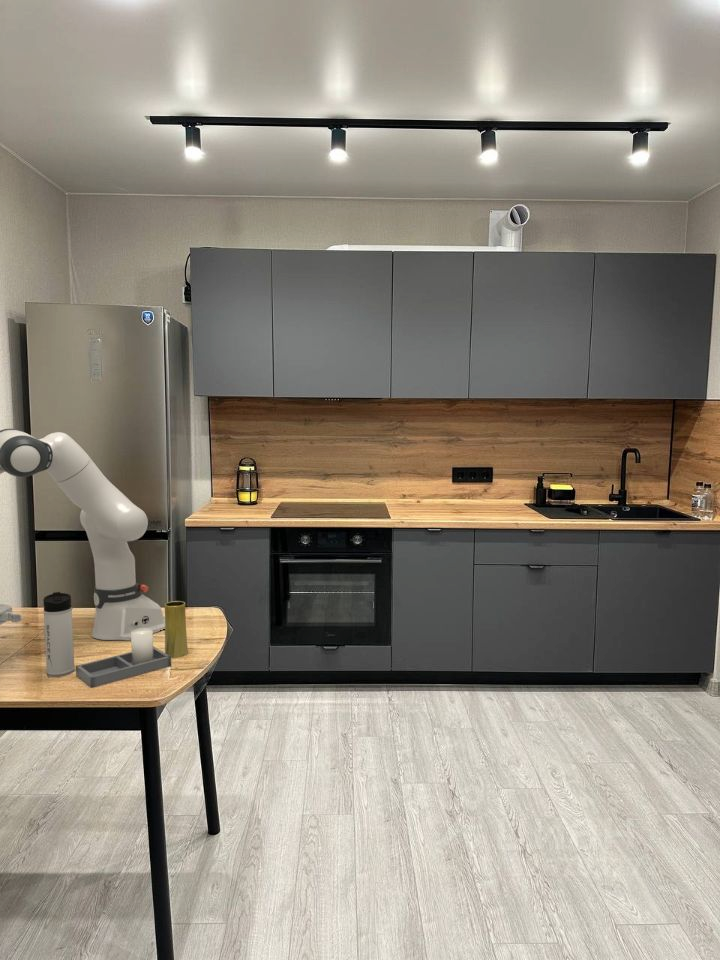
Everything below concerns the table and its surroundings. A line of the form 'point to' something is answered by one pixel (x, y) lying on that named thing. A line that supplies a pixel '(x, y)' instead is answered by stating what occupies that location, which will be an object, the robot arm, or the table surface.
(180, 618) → the vase
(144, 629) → the white cylinder
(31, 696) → the table surface
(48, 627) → the travel mug
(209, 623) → the table surface
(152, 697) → the table surface
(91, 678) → the caddy
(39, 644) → the table surface
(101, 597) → the robot arm
